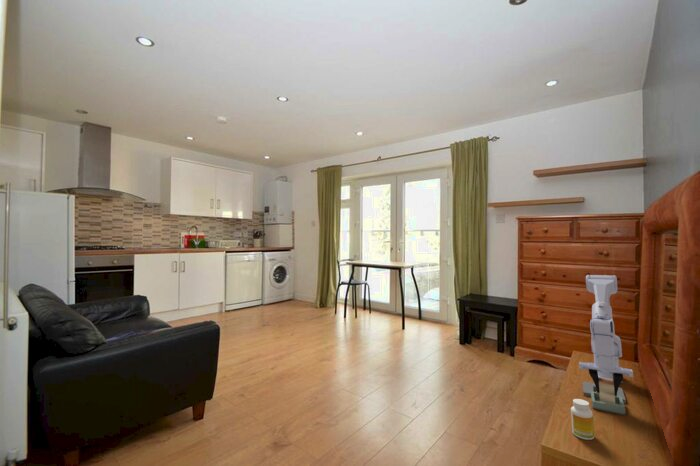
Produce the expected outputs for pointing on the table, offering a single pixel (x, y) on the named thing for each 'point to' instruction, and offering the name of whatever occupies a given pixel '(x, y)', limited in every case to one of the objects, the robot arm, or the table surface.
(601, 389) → the block
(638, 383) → the table surface
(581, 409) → the supplement bottle
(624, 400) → the holder board
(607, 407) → the tray
